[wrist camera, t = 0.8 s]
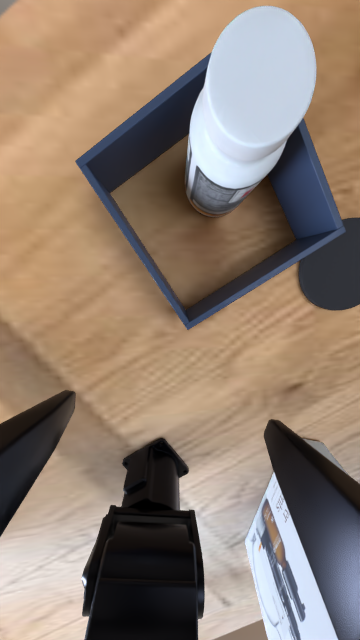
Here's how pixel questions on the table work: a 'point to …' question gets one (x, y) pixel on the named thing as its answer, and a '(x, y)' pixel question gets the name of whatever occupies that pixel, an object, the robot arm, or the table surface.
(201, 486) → the table surface
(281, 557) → the skincare box
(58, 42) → the table surface
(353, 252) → the coaster
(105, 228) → the table surface
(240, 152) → the pill bottle
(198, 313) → the open box
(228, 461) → the table surface
